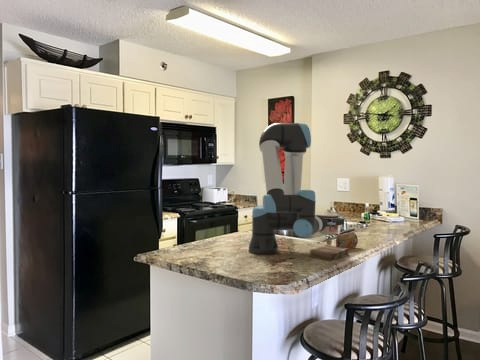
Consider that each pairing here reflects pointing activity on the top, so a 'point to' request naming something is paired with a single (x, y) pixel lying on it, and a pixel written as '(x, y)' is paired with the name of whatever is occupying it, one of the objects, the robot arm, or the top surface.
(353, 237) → the brown flat oval piece
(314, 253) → the board
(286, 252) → the top surface
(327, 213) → the teacup with lid
